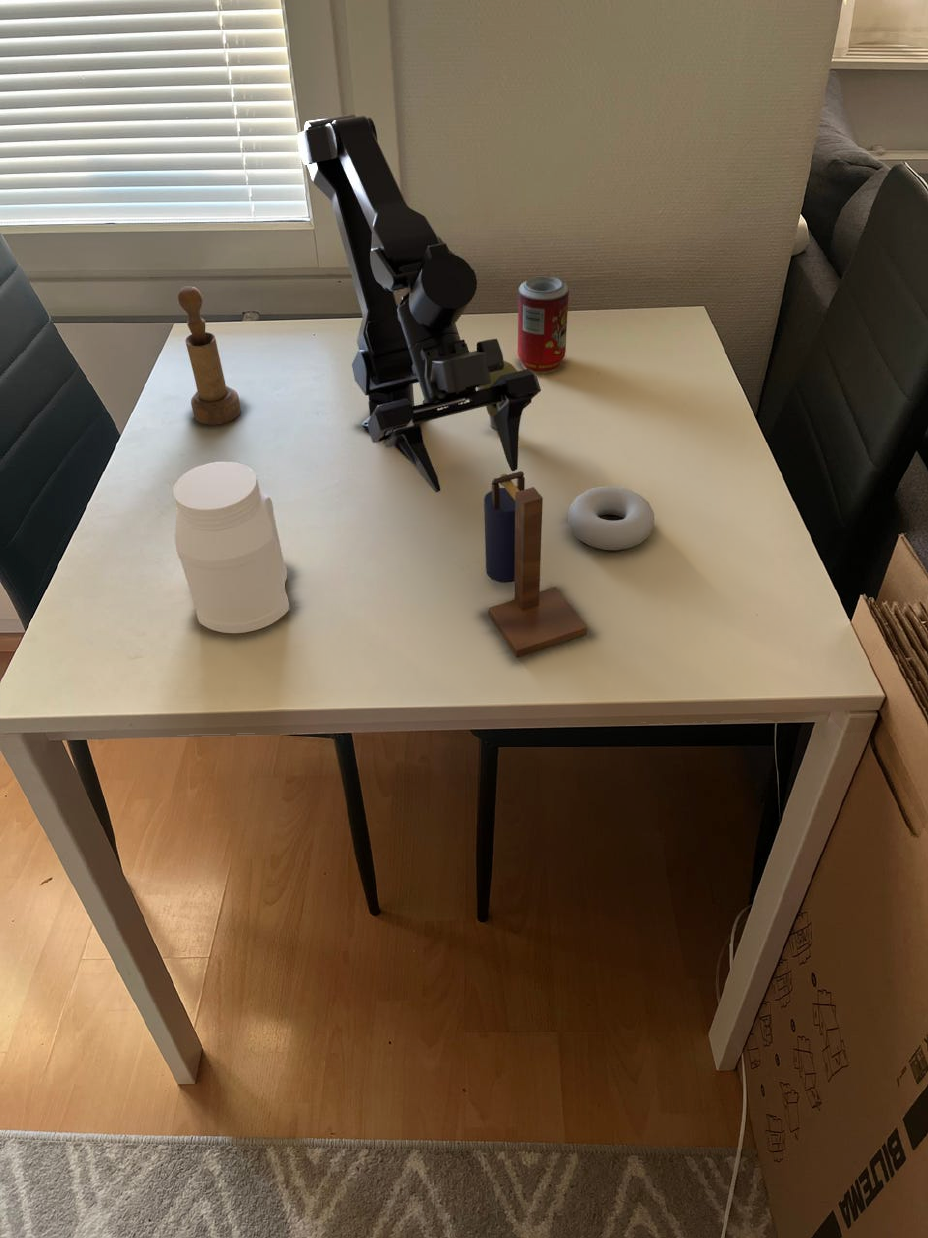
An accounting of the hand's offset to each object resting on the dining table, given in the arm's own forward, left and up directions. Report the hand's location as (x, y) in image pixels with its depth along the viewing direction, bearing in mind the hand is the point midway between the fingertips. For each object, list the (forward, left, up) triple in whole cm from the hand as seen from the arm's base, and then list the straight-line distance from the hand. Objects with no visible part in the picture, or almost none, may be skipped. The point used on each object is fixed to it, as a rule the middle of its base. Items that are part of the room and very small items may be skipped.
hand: (476, 480), depth 101 cm
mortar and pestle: (-11, -46, -9) cm, 48 cm away
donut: (-9, +13, -9) cm, 18 cm away
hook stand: (+8, +10, -8) cm, 15 cm away
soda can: (-42, -10, -9) cm, 44 cm away
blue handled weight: (+5, +6, -7) cm, 10 cm away
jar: (+19, -19, -9) cm, 29 cm away
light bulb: (-23, -8, -9) cm, 25 cm away
